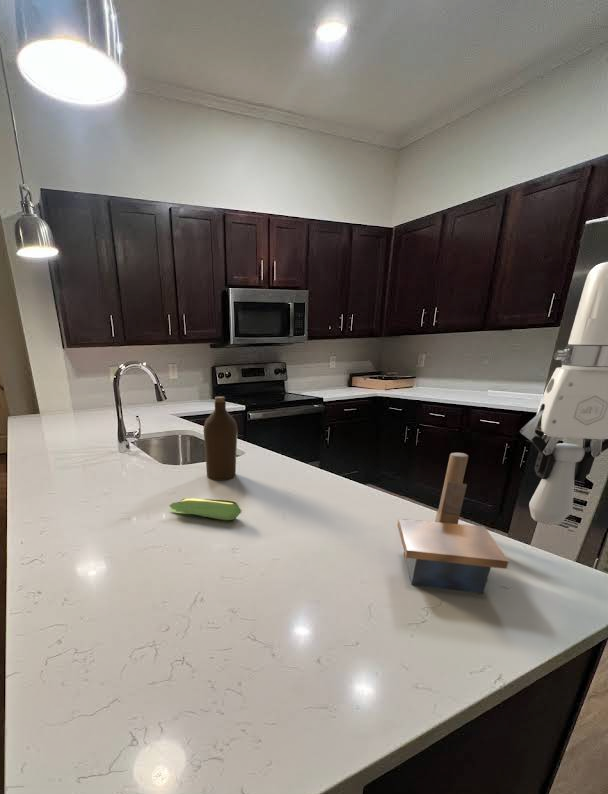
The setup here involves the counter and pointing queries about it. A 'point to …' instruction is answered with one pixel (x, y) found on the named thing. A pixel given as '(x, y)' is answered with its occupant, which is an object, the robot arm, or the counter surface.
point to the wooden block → (453, 490)
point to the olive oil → (220, 442)
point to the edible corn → (207, 508)
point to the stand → (449, 554)
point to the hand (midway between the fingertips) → (559, 476)
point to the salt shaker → (557, 486)
